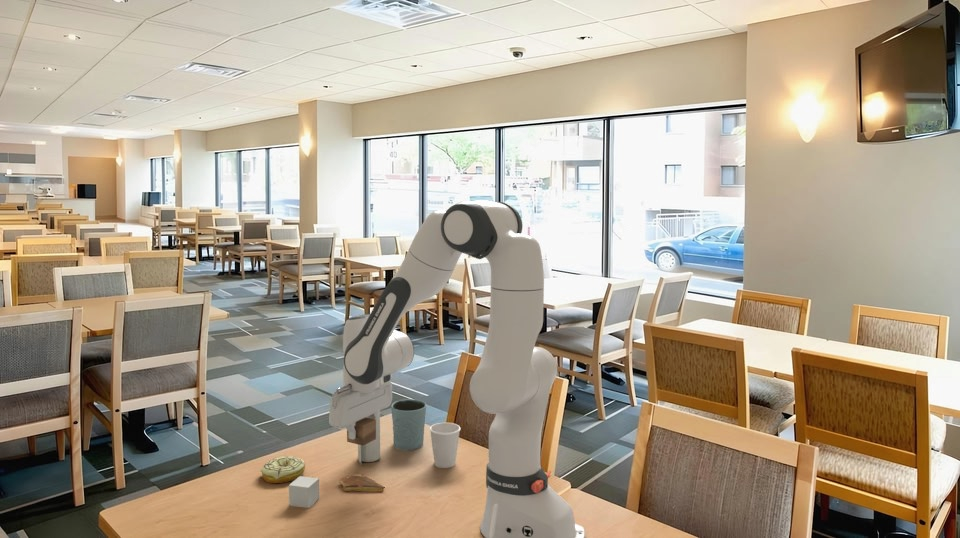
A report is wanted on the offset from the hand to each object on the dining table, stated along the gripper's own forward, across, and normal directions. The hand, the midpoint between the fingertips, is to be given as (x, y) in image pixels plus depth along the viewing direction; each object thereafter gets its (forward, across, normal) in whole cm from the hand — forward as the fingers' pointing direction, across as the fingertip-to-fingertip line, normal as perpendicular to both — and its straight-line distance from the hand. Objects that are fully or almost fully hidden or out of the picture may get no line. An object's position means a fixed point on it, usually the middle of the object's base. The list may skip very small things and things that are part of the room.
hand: (361, 434), depth 158 cm
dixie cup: (+13, +21, -11) cm, 27 cm away
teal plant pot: (+13, +27, +5) cm, 30 cm away
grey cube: (+13, -14, +6) cm, 20 cm away
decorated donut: (+14, -6, +21) cm, 25 cm away
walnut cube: (+2, 0, 0) cm, 2 cm away
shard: (+14, 0, 0) cm, 14 cm away
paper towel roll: (+13, +13, +9) cm, 20 cm away
